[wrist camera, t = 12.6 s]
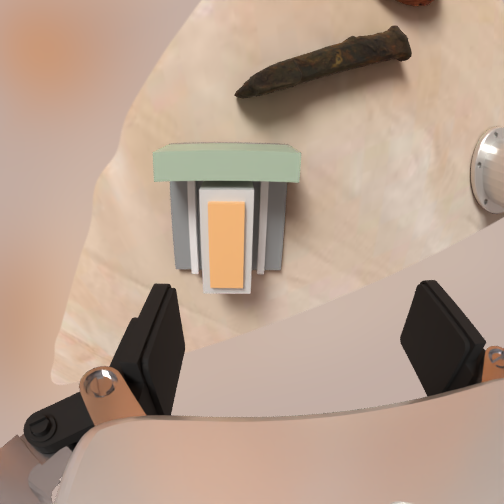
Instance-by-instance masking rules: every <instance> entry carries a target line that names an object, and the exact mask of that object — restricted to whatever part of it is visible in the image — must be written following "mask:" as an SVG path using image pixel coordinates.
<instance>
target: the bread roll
mask: <svg viewBox="0 0 504 504" xmlns="http://www.w3.org/2000/svg"><path fill="white" fill-rule="evenodd" d="M397 1H399V2H401V3H403V4H406V5H412V6H419V5H421V6H425V5H428V4H430V3H432V1H433V0H397Z"/></svg>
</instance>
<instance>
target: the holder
mask: <svg viewBox="0 0 504 504" xmlns="http://www.w3.org/2000/svg"><path fill="white" fill-rule="evenodd" d="M199 203H200V234H201V257H202V276H203V293H223V294H251V269H252V239H253V209H254V187H253V182H252V181H203V183H202V185H201V187H200V189H199Z"/></svg>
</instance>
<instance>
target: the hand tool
mask: <svg viewBox="0 0 504 504" xmlns="http://www.w3.org/2000/svg"><path fill="white" fill-rule="evenodd" d="M411 53H412V52H411V48H410V45H409V42H408V38H407V36H406V35H405V34H404V33H403V32H402V31H401V30H400V29H399V27H398V26H391V27H390V28H389V29H388V31H385V32H383V33H377V34H374V35H368V36H358V37H354V36H351V37H349V38H348V39H346V40H345V41H343V42H342V43H339V44H336V45H332V46H328V47H325V48H322V49H319V50H316V51H313V52H310V53H307V54H304V55H301V56H297V57H294V58H291V59H288V60H285V61H282V62H278V63H276V64H274V65H271V66H269V67H267V68H265V69H263V70H262V71H260V72H258V73H256V74H255V75H253V76H252V77H250V79H249V80H248V81H246V82H245V83H244V85H243V86H242V87H241V88H240V89H239V90H237V91H236V93H235V96H236V97H240V98H248V97H252V96H260V95H264V94H269V93H272V92H274V91H277V90H282V89H286V88H289V87H293V86H295V85H297V84H300V83H303V82H306V81H310V80H313V79H317V78H320V77H323V76H327V75H330V74H334V73H338V72H341V71H345V70H349V69H353V68H357V67H362V66H366V65H369V64H373V63H376V62H381V61H387V60H390V59H397V60H398V61H401V62H402V61H405V60H408V59H409V58H410V57H411Z"/></svg>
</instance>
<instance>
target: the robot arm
mask: <svg viewBox="0 0 504 504" xmlns="http://www.w3.org/2000/svg"><path fill="white" fill-rule="evenodd" d="M471 184H472V189H473V193H474V196H475V198H476V200H477V202H478V203H479V205H480V206H481V207H482V208H484V209H485V210H487V211H489V212H491V213H494V214H498V213H502V212H504V128H503V127H493V128H491V129H489V130H487V131H486V132H485V133H484V134H483V135H482V136H481V138H480V139H479V141H478V143H477V145H476V147H475V150H474V154H473V158H472V163H471ZM400 340H401V345H402V346H403V349H404V350H405V352H406V354H407V356H408V358H409V360H410V362H411V364H412V366H413V368H414V370H415V372H416V374H417V376H418V378H419V380H420V382H421V384H422V386H423V388H424V390H425V392H426V394H427V396H428V397H424V398H420V399H415V400H410V401H405V402H400V403H394V404H389V405H383V406H378V407H371V408H364V409H357V410H350V411H342V412H333V413H323V414H312V415H298V416H280V417H200V416H172V415H171V412H172V407H173V402H174V397H175V393H176V388H177V383H178V379H179V374H180V370H181V365H182V360H183V356H184V352H185V342H184V336H183V330H182V324H181V318H180V312H179V306H178V299H177V293H176V289H175V288H171V285H170V284H154V285H153V287H152V289H151V292H150V294H149V296H148V298H147V300H146V302H145V304H144V306H143V308H142V310H141V313H140V315H139V317H138V318H132V320H131V321H130V323H129V325H128V327H127V329H126V331H125V334H124V336H123V338H122V340H121V342H120V344H119V347H118V349H117V351H116V353H115V355H114V358H113V360H112V362H111V364H110V366H109V367H108V366H100V367H96V368H93V369H91V370H89V371H87V372H86V373H85V374H84V375H83V377H82V378H81V380H80V383H79V389H80V392H78V393H76V394H74V395H72V396H70V397H67V398H65V399H63V400H61V401H59V402H57V403H55V404H53V405H51V406H48V407H46V408H44V409H42V410H40V411H37V412H35V413H34V414H32V415H31V416H30V417H29V418H28V419H27V421H26V423H25V425H24V434H23V435H22V436H20V437H19V436H18V435H16V436H15V437H13V438H12V439H11V440H10V441H9V442H7V443H6V444H5V445H4V446H3V447H2V448H0V504H53V503H52V498H51V496H52V491H53V490H54V488H55V487H56V486H57V485H58V484H59V483H60V485H59V488H58V491H57V495H56V498H55V501H54V504H504V348H502V347H499V346H490V347H488V348H487V350H486V351H485V350H484V349H483V347H484V345H485V344H486V341H485V340H484V338H483V337H482V336H481V334H480V333H479V332H478V330H477V329H476V328H475V327H474V325H473V324H472V323H471V322H470V320H469V319H468V318H467V317H466V316H465V314H464V313H463V312H462V311H461V309H460V308H459V307H458V306H457V305H456V303H455V302H454V301H453V300H452V299H451V297H450V296H449V295H448V294H447V293H446V292H445V291H444V290H443V288H442V287H441V286H440V285H439V284H438V283H437V281H435V280H427V281H422V282H421V283H420V284H419V285H418V286H417V288H416V291H415V295H414V298H413V301H412V304H411V307H410V310H409V313H408V316H407V319H406V323H405V325H404V328H403V331H402V334H401V337H400ZM61 477H62V479H61V481H60V480H59V479H60V478H61Z"/></svg>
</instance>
